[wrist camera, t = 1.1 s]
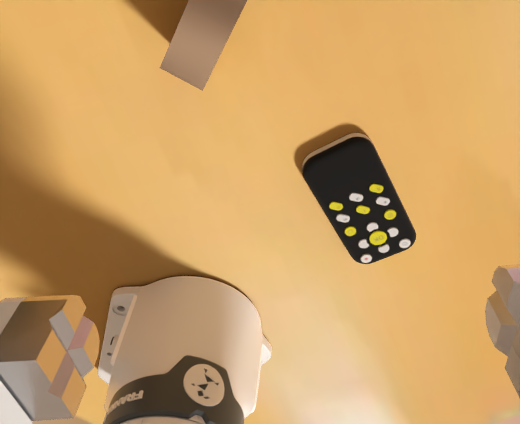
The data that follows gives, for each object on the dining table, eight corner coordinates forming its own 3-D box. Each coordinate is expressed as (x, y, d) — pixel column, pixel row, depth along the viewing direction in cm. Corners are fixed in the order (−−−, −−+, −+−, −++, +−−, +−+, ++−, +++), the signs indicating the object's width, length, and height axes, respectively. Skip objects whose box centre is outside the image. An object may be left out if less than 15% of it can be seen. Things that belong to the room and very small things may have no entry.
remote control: (363, 123, 36) (367, 133, 34) (417, 234, 42) (422, 247, 40) (295, 157, 38) (296, 168, 36) (355, 258, 44) (358, 272, 42)
